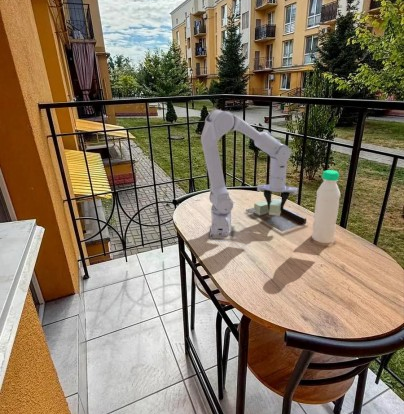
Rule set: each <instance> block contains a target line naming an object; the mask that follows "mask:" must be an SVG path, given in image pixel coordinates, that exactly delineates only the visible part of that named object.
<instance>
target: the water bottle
mask: <svg viewBox="0 0 404 414" xmlns="http://www.w3.org/2000/svg"><path fill="white" fill-rule="evenodd" d="M321 178H322V182H321V184H320V186H319V187H318V188H317V190H316V198H315V205H314V213H313V214H314V215H313V216H314V217H313V223H312V232H311V238H312V239H313V240H314V241H316V242H318V243H322V244H330V243H331V245H333V244H334V241H335V234H336V233H335V232H336V229H337V225H336V223H337V220H338V214H339V208H340V198H341V191H340V188H339V184H338V181H339V179H340V173H339V172H338V171H337V170H332V169H327V170H324V171H323V172H322V176H321Z"/></svg>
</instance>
